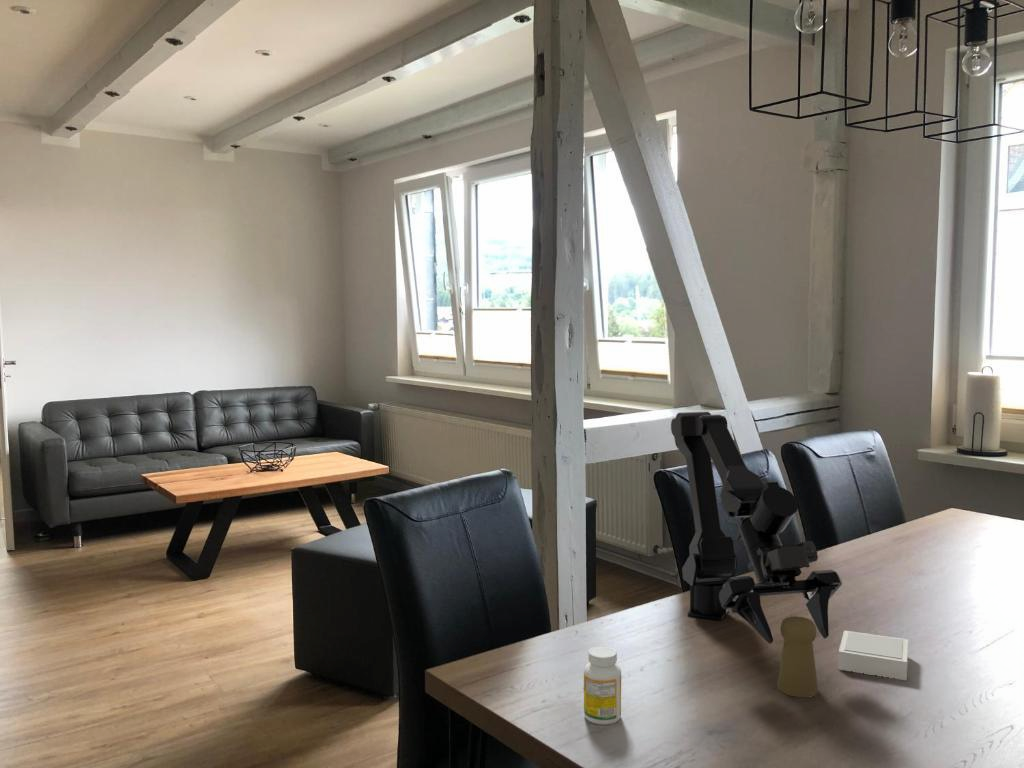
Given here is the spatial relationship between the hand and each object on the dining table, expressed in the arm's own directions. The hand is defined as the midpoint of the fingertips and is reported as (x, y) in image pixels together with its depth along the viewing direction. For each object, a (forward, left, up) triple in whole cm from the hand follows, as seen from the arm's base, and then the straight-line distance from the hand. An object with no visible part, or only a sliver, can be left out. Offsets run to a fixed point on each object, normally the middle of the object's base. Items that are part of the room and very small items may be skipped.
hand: (798, 639), depth 130 cm
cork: (0, 0, -8) cm, 8 cm away
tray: (+10, +15, -8) cm, 20 cm away
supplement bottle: (-24, -21, -8) cm, 33 cm away
